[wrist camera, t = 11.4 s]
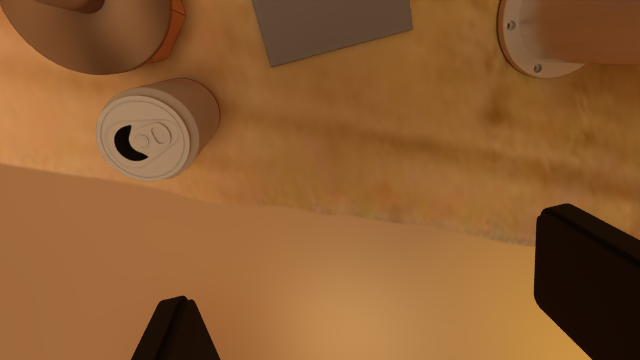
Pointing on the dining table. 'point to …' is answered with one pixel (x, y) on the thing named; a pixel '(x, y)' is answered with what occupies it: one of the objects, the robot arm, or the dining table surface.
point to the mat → (326, 25)
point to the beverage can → (157, 128)
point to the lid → (92, 31)
